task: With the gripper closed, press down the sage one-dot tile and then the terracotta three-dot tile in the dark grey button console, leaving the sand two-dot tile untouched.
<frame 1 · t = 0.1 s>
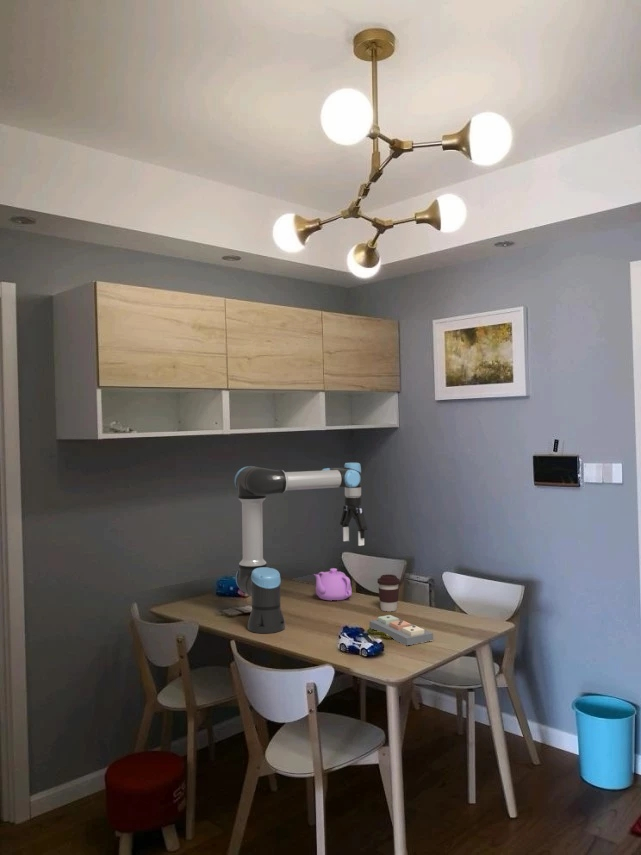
hand: (353, 543, 311), 28 cm above the table, tool pointing down, fingers open, 13 cm apart
coffee cup: (388, 610, 302), on the table
tile three: (400, 626, 266), point 3 cm above the table, slide at 0.0 cm
teapot: (330, 599, 322), on the table
tile one: (388, 621, 274), point 3 cm above the table, slide at 0.0 cm
console: (400, 634, 266), on the table
tile two: (413, 632, 259), point 3 cm above the table, slide at 0.0 cm
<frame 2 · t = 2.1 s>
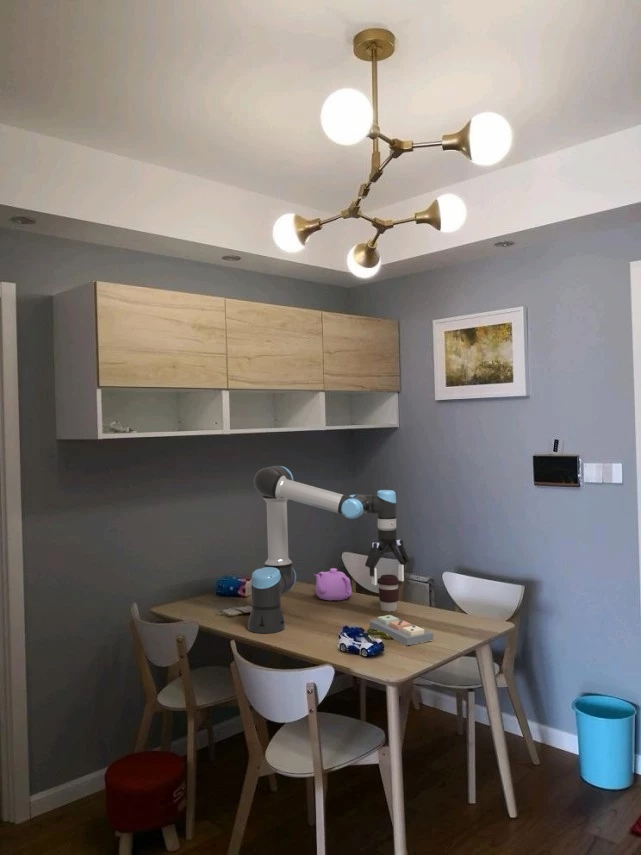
hand: (387, 582, 274), 19 cm above the table, tool pointing down, fingers open, 12 cm apart
nothing on the table moved.
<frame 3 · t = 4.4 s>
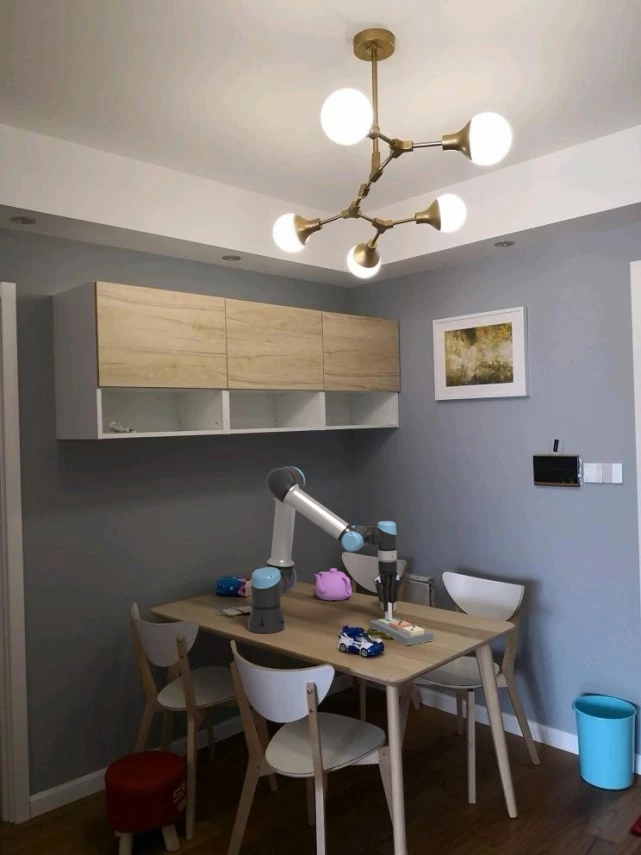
hand: (388, 619, 274), 4 cm above the table, tool pointing down, fingers closed
tile one: (388, 623, 274), point 2 cm above the table, slide at 1.1 cm, touching gripper
everything else where it was.
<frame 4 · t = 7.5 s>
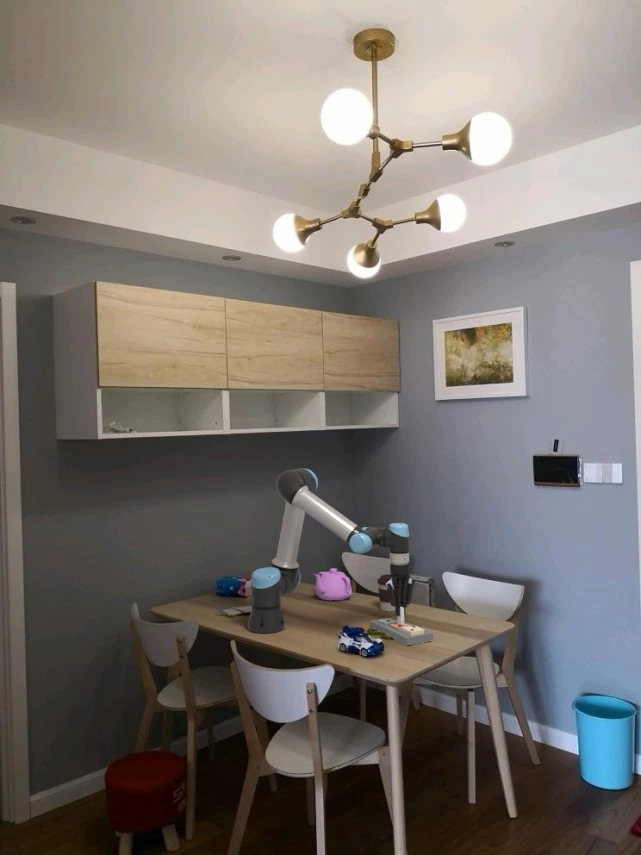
hand: (400, 623, 266), 4 cm above the table, tool pointing down, fingers closed
tile three: (400, 628, 266), point 2 cm above the table, slide at 0.9 cm, touching gripper
tile one: (388, 624, 274), point 2 cm above the table, slide at 1.3 cm
everything else where it was.
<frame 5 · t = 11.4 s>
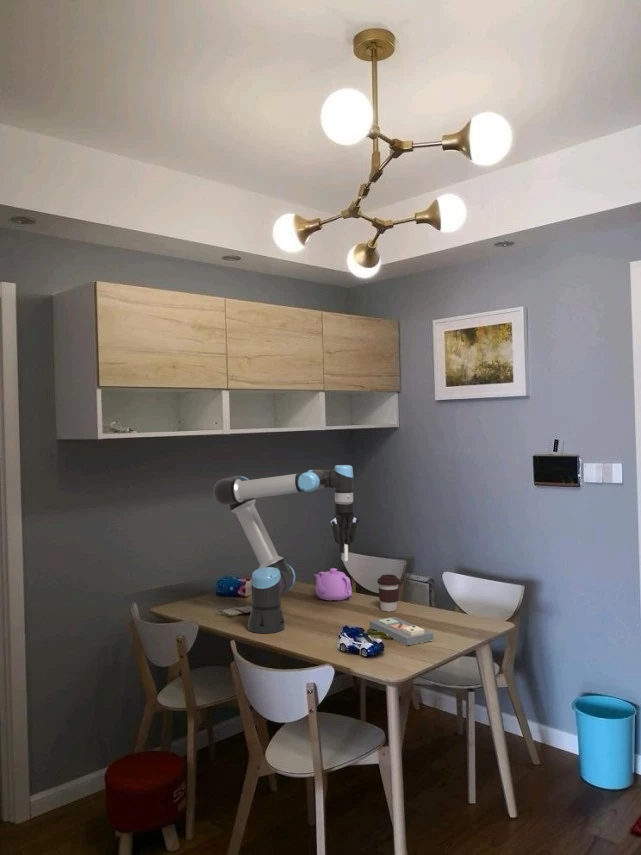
hand: (344, 560, 280), 26 cm above the table, tool pointing down, fingers closed
tile three: (400, 629, 266), point 2 cm above the table, slide at 1.3 cm
everything else where it was.
at the end: tile one slide at 1.3 cm; tile three slide at 1.3 cm; tile two slide at 0.0 cm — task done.
